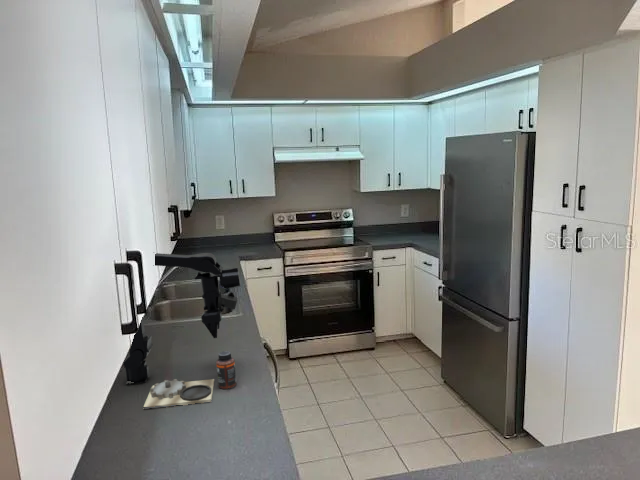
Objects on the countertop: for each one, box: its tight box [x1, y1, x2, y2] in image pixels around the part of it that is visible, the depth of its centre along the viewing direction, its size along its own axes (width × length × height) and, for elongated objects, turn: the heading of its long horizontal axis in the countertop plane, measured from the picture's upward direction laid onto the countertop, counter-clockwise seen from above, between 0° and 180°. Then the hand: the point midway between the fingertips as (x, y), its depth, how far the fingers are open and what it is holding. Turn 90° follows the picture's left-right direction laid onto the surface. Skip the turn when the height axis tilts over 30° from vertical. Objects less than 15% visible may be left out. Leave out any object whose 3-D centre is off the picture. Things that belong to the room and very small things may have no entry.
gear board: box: [143, 378, 215, 407], centre depth 153 cm, size 20×14×4 cm
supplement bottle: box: [215, 350, 237, 390], centre depth 158 cm, size 6×6×11 cm
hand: (216, 333), depth 167 cm, fingers open, 9 cm apart
